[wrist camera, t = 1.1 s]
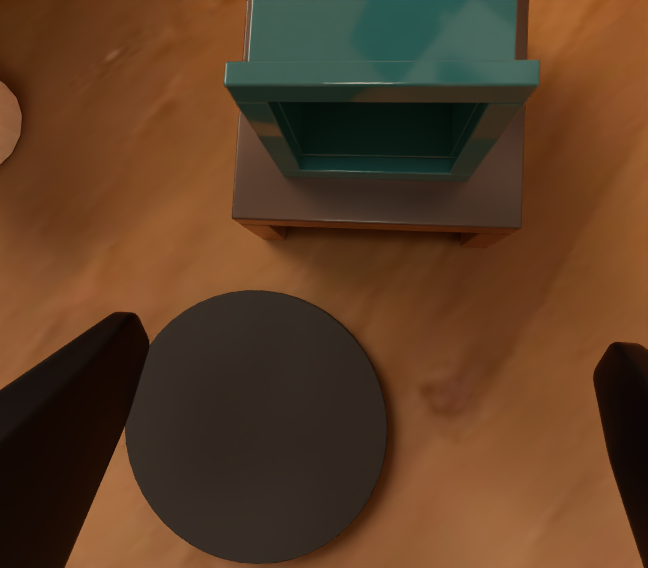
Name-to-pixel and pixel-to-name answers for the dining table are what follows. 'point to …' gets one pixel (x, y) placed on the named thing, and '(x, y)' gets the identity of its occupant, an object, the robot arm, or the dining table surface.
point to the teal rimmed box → (381, 85)
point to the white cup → (8, 122)
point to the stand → (385, 188)
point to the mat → (257, 427)
